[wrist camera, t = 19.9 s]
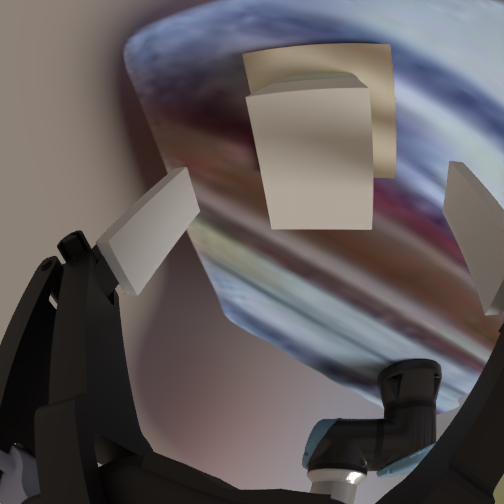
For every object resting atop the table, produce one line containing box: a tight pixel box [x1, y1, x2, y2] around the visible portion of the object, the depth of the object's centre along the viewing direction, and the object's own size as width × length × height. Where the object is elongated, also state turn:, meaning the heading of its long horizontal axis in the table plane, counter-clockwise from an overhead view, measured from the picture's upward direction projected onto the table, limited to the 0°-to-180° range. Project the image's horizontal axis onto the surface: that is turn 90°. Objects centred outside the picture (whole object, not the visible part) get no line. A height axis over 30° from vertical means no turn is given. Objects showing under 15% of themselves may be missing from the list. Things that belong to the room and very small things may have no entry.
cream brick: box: [245, 78, 373, 230], centre depth 16 cm, size 8×6×7 cm
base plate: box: [242, 43, 396, 178], centre depth 25 cm, size 14×14×2 cm
